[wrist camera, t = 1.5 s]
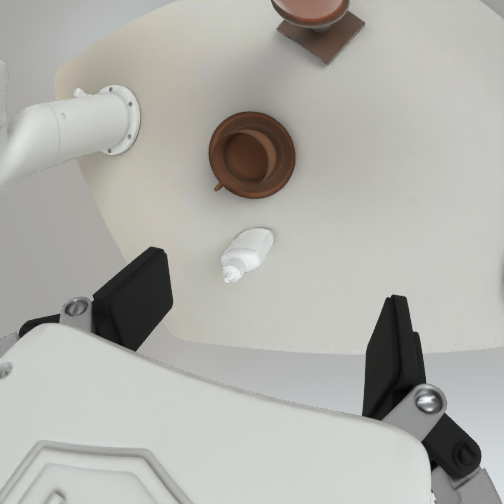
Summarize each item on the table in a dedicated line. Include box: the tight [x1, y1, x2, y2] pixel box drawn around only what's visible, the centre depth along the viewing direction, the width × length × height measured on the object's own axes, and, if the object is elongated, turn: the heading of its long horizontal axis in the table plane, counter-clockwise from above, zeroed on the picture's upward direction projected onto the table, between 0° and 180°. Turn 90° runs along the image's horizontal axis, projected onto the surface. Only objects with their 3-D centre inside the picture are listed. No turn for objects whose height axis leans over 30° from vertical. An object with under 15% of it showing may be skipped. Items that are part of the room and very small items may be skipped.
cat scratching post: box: [271, 0, 365, 65], centre depth 23 cm, size 8×8×12 cm
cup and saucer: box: [209, 112, 295, 199], centre depth 36 cm, size 12×12×6 cm
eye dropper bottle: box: [221, 228, 274, 282], centre depth 40 cm, size 4×6×12 cm
